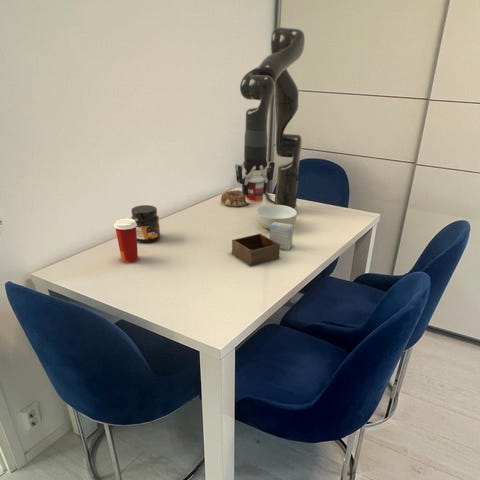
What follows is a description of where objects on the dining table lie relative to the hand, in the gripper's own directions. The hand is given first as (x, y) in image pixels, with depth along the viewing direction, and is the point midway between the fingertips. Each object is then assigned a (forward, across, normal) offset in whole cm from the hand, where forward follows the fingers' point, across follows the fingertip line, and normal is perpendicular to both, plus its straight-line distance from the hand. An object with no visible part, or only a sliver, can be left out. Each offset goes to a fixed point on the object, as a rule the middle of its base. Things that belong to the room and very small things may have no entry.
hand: (254, 193), depth 159 cm
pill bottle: (+3, 0, 0) cm, 3 cm away
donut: (+22, -18, -55) cm, 62 cm away
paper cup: (+22, +44, -11) cm, 50 cm away
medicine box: (+22, -12, 0) cm, 25 cm away
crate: (+22, +1, +4) cm, 22 cm away
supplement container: (+22, +33, -27) cm, 48 cm away
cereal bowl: (+22, -20, -19) cm, 35 cm away
